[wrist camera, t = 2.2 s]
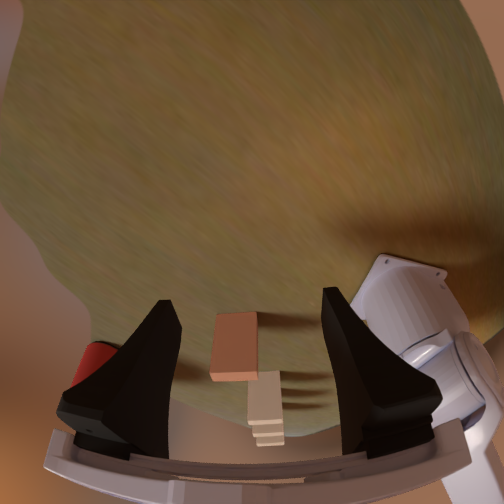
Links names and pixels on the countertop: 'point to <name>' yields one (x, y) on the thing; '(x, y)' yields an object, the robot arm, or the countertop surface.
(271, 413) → the ivory domino
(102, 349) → the beer can
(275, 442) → the ivory domino
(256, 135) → the countertop surface
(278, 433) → the ivory domino
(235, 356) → the rust domino
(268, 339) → the countertop surface
